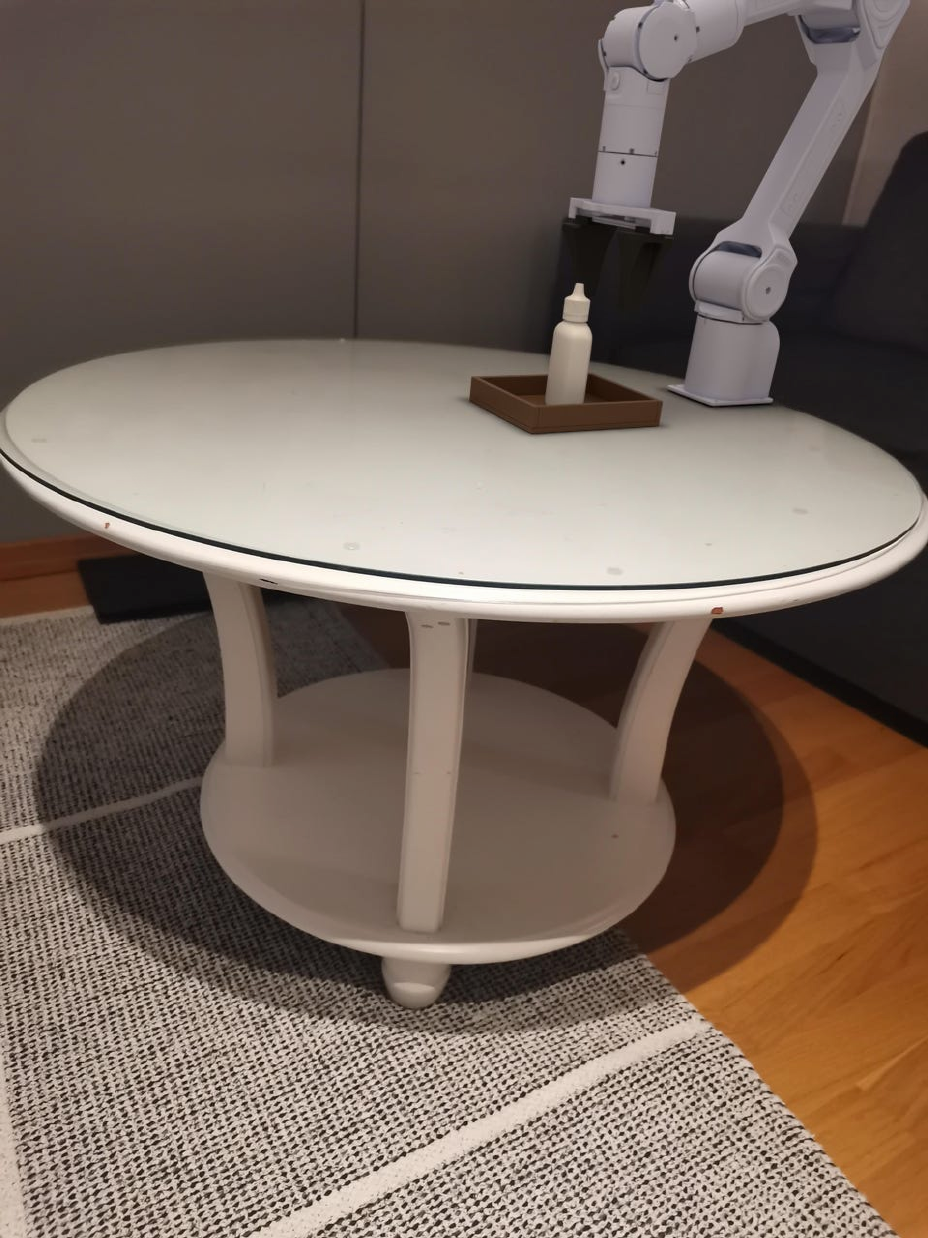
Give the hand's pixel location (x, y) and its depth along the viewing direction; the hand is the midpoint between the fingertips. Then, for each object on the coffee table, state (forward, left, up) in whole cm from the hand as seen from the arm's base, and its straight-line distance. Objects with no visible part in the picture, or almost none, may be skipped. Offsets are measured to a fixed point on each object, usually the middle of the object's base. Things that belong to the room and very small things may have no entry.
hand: (606, 302), depth 96 cm
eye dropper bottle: (+6, +3, -10) cm, 12 cm away
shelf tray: (+6, +3, -10) cm, 12 cm away
